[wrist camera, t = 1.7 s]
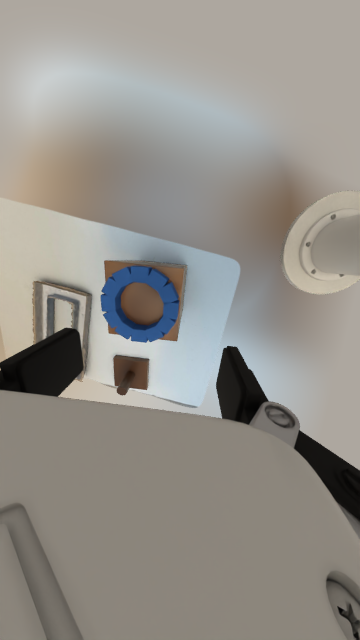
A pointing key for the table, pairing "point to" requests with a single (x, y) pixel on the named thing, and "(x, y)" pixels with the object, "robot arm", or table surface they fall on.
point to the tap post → (130, 373)
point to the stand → (149, 294)
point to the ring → (118, 317)
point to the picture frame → (45, 313)
